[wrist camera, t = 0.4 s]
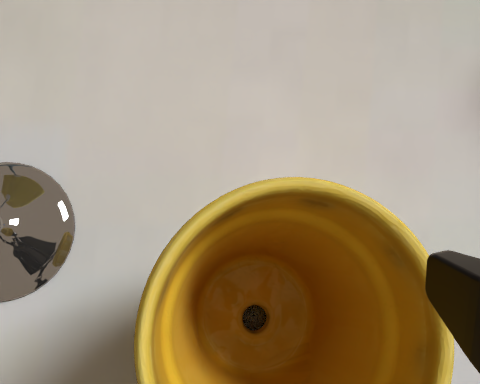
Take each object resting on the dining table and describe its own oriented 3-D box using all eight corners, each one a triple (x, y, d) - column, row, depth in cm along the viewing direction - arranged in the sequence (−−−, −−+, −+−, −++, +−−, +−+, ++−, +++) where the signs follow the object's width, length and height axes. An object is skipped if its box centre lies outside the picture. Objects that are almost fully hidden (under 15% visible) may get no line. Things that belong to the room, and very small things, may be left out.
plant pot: (336, 436, 23) (449, 546, 13) (133, 406, 22) (94, 500, 12) (358, 236, 25) (468, 205, 15) (175, 201, 24) (171, 145, 14)
